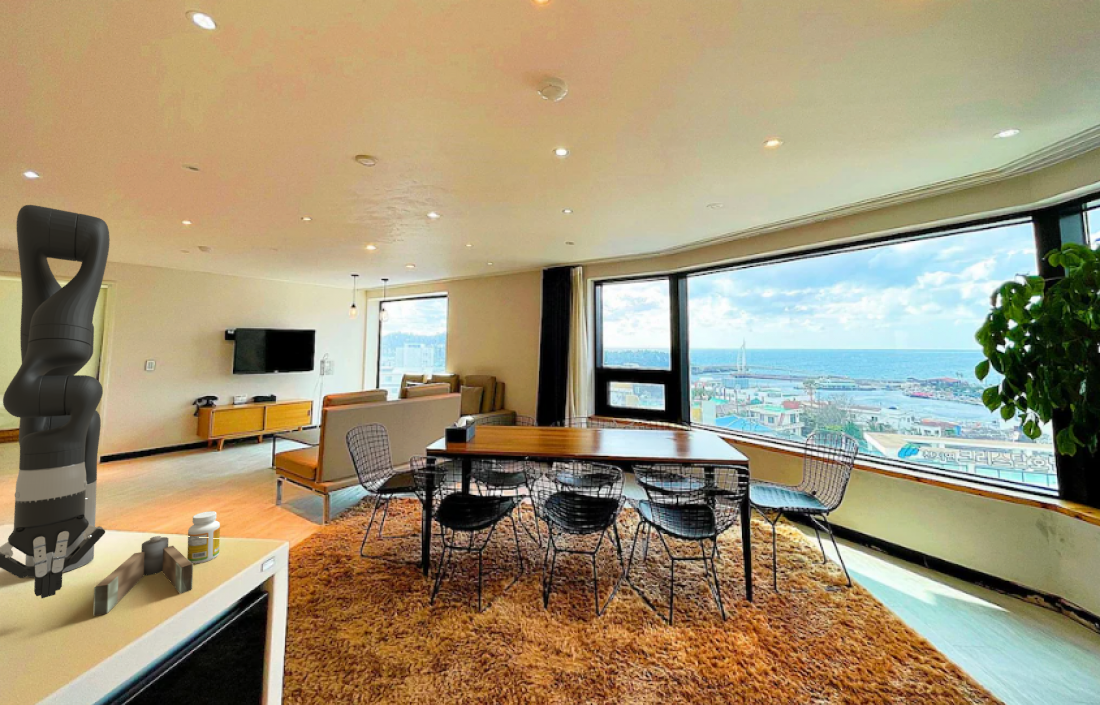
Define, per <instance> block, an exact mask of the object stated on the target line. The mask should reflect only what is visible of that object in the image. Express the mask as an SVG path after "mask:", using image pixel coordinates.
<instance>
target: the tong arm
mask: <svg viewBox="0 0 1100 705" xmlns="http://www.w3.org/2000/svg"><path fill="white" fill-rule="evenodd" d="M144 576H145V575H144V552H141V551H139V552H134V553H133V554H132V555H130V556H129V557H128V558H127V559H126V560H125V561H123V562H122V563H121V564H120V565H119V566H118V567H117V568H115V570H113V571H112V572H111V573H110V574H108V575H107V576H106V577H105V578H104V579H102V580H100V582H99V583H97V585H95V586H94V588H93V591H94V592H93V616H94V617H95V616H101V615H107V613H109V612H110V611H111V610H112V609H113V608H114V607H116V605H117V604H118V603H119V602H120V601H121V600H122V599H123V598H124V597H125V596H126V595H127V594H128V593H129V592H130V591H131V590H132V589H133V588H134V587H135V586H136V585H137V584H138V583H139V582H140V581H141V580H142V579H143V578H144Z"/></svg>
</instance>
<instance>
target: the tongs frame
mask: <svg viewBox="0 0 1100 705" xmlns="http://www.w3.org/2000/svg"><path fill="white" fill-rule="evenodd" d="M140 549H141V551H140V552H144V576H152V575H156V574H159V573H162V572H163V573H164V574H165V575H164V574H163V573H162V574H163V575H164V576H165V577H166V579H167V580H168V579H169V580H170V581H171V582H170V581H169V580H168V581H169V582H170V584H171V585H173V587H174V589H175V590H176V592H178V593H179V594H180V595H181V594H184V593H187V592H189V591H192V590H193V582H194V581H193V580H194V579H193V577H194V574H193V572H194V564H193V563H191V562H190V561H189V560H187V557H186V556H184V555H183V553H181V551H180V550H178V549H177V548H176V546H174V545H170V546H169V538H168V537H162V536H160V535H156V536H155V535H154V536H153V537H151V538H149V539H148V540H146V541H144V542H142V543H141V548H140ZM161 571H162V572H161ZM155 573H156V574H155Z"/></svg>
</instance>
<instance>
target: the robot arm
mask: <svg viewBox="0 0 1100 705" xmlns="http://www.w3.org/2000/svg"><path fill="white" fill-rule="evenodd" d="M107 224H108V223H107V222H106V221H105V220H104V219H102V218H100V217H96V216H92V215H88V214H83V213H77V212H73V211H67V210H64V209H63V210H62V209H56V208H53V207H47V206H41V205H36V204H35V205H34V204H26V205H23V206H21V208H20V209H19V211H18V213H17V217H16V241H17V250H18V259H19V270H20V279H21V310H20V311H21V312H20V313H21V314H20V356H21V364H20V366H19V368H18V370H17V372H16V373H15V374H14V376H13V378H12V379H11V381H10V383H9V384H8V386H7V387H6V389H5V392H4V394H3V398H2V404H3V407H4V409H5V410H6V412H8V414H10V415H11V416H13V417H15V418H19V425H18V428H19V429H18V430H19V431H18V444H19V463H18V464H19V465H18V467H19V468H18V474H17V478H16V482H15V493H14V514H13V515H14V519H13V529H12V530H13V531H12V532H11V533H10V534H9V536H8V538H7V542H5V543H3V544H2V545H1V546H0V569H2V570H4V571H6V572H8V573H9V574H12V575H13V576H16V577H18V578H19V579H24V578H34V585H33V586H34V588H33V589H34V590H33V591H34V594H35V596H36V597H39V596H40V599H45V598H47V597H51V596H56V592H57V591H60V590H61V589H62V587H63V573H65V572H69V571H73V570H75V569H78V568H80V567H82V566H85V565H87V564H89V563H90V562H92V561H93V560H94V558H95V557H94V556H95V544H96V543H97V542H98V541H100V539H101V538H102V537H103V536H104V535H105V533H106V530H105V529H104V528H103V527H102V526H96V512H97V511H96V510H97V509H96V508H97V507H96V506H97V485H98V484H97V482H98V481H97V480H98V479H97V478H98V452H99V444H100V435H101V425H102V424H101V422H102V421H101V416H100V413H99V412H98V410H97V409H98V406H99V404H100V403H101V399H102V397H103V392H104V390H103V386H102V384H101V382H100V381H99V380H98V379H97V378H95V376H92V375H83V374H82V375H81V374H78V375H76V374H77V373H78V372H80V371H81V369H82V368H84V367H85V366H86V365H87V363H89V361H90V360H91V358H92V356H93V354H94V343H95V342H94V339H95V338H94V337H95V335H94V334H95V326H94V323H93V321H94V320H93V319H94V314H95V309H96V305H97V302H98V298H99V295H100V292H101V287H102V285H103V279H104V274H105V271H106V266H107V262H108V256H109V250H110V241H111V240H110V230H109V227H108V225H107ZM48 258H49V259H56V260H62V261H63V260H64V261H71V262H80V264H81V265H80V267H79V270H78V271H77V273H76V274H75V275H74V276H73V278H71V279H70V281H68V282H67V283H66V284H65V285H64V286H61V285H60V283H59V282H58V280H57V279H56V278H55V276H54V274H53V272H52V270H51V266H50V265H49V262H48ZM13 548H15V549H17V550H18V551H19V552H21V553H23V554H24V555H25V564H24V563H22V562H20V561H18V560H17V559H15V558H13V555H14V551H13V550H12V549H13Z"/></svg>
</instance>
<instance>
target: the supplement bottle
mask: <svg viewBox="0 0 1100 705" xmlns="http://www.w3.org/2000/svg"><path fill="white" fill-rule="evenodd" d="M216 519H217V512H216V511H204V512H198V513H196V514H194V515H193V516H192V525H191V526H190V527H189V528H188V530H187V556H186V559H187V560H189V561H190V562H191V563H192V564H193V563H195V564H200V563H206V562H208V561H212V560H213V559H215V558H217V557H218V556H219V555H220V540H221V538H220V536H221V535H220V534H221V532H220V531H221V524H220V523H221V522H219V521H218V520H216ZM188 536H190V537H188ZM199 537H209V538H199ZM213 538H220V539H213Z"/></svg>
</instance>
